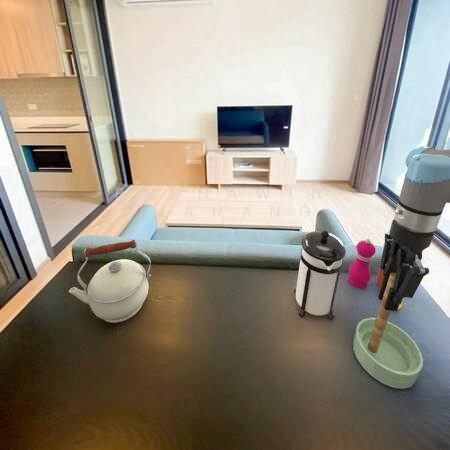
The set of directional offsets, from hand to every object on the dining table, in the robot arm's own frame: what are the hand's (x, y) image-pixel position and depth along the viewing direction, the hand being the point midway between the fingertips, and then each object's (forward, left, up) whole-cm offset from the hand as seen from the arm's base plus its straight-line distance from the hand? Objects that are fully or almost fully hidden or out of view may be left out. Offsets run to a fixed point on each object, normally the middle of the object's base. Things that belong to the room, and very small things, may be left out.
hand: (387, 303), depth 62 cm
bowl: (-3, +1, -20) cm, 20 cm away
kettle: (+73, -32, -20) cm, 82 cm away
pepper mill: (-15, -24, -20) cm, 35 cm away
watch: (-18, -12, -20) cm, 29 cm away
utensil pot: (-24, -21, -20) cm, 37 cm away
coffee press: (+7, -20, -20) cm, 29 cm away
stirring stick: (0, 0, -17) cm, 17 cm away
